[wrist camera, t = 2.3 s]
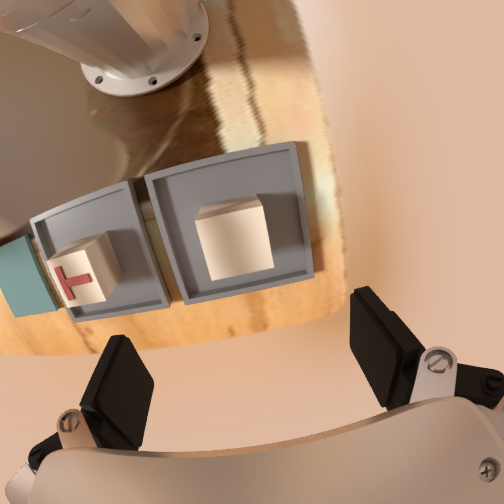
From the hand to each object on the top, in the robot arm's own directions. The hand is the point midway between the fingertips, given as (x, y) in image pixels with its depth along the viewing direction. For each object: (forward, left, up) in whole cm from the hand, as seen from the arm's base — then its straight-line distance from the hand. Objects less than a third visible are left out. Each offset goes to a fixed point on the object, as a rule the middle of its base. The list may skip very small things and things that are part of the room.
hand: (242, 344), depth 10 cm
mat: (+23, -17, -16) cm, 33 cm away
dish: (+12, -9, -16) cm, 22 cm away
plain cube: (0, 0, -16) cm, 16 cm away
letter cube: (+12, -9, -16) cm, 22 cm away
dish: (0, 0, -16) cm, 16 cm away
